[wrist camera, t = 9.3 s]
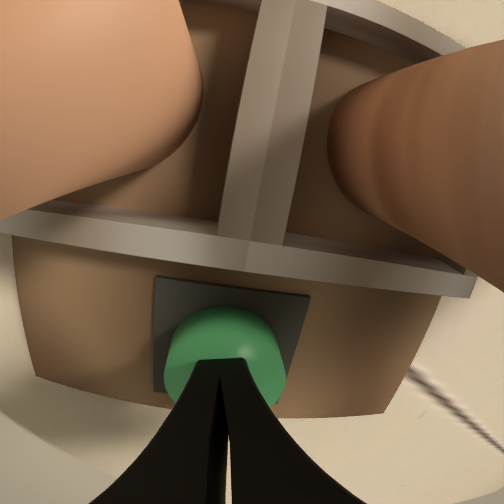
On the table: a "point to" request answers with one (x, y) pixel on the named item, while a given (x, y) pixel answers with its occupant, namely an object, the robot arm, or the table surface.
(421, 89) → the wooden peg sorting tray
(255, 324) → the button
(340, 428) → the table surface
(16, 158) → the tan rounded peg
